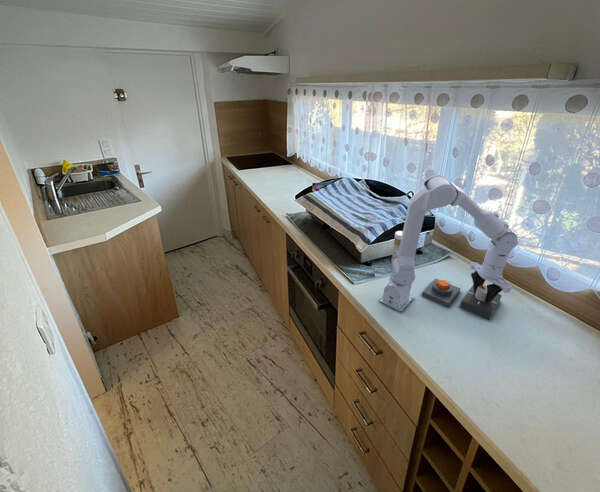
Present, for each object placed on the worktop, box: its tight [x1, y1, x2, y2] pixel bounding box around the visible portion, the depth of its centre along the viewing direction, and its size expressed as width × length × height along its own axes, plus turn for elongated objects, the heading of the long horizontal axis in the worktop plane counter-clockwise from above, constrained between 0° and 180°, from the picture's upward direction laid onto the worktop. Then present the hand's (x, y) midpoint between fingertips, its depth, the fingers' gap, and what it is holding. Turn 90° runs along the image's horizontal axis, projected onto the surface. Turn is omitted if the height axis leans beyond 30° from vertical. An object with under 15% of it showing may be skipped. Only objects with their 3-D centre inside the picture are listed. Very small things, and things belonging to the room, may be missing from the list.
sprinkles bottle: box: [390, 230, 403, 262], centre depth 125 cm, size 5×5×14 cm
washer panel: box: [459, 284, 502, 321], centre depth 103 cm, size 12×9×3 cm
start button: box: [437, 279, 450, 290], centre depth 107 cm, size 4×4×2 cm
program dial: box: [475, 284, 487, 302], centre depth 101 cm, size 4×4×4 cm
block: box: [421, 277, 461, 308], centre depth 108 cm, size 11×9×4 cm
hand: (482, 296), depth 102 cm, fingers closed on program dial, 4 cm apart
